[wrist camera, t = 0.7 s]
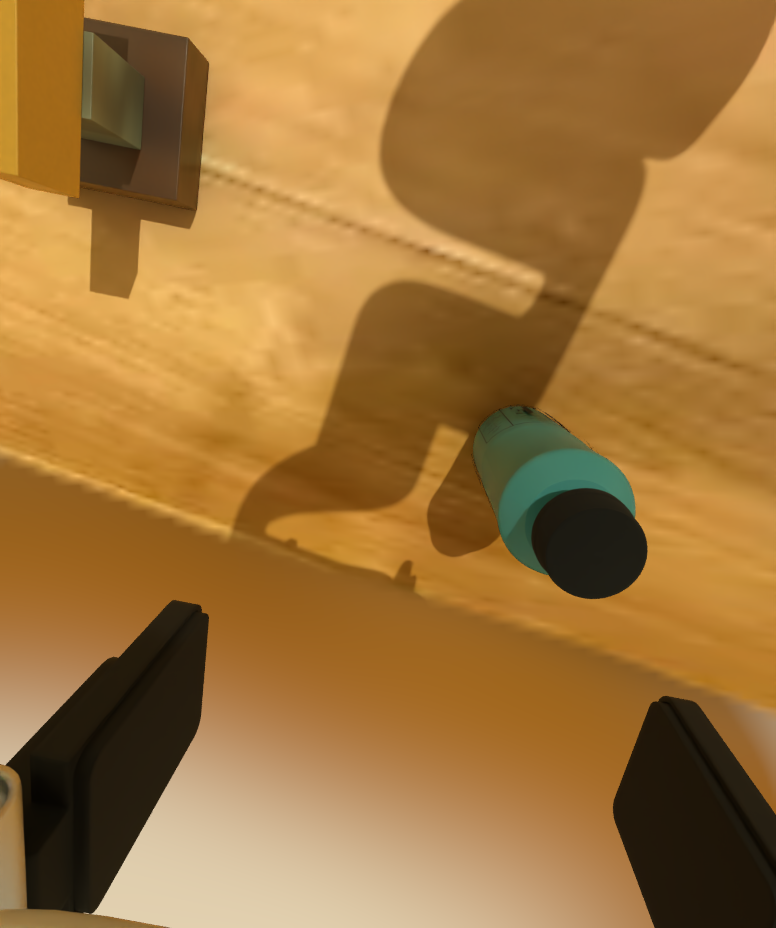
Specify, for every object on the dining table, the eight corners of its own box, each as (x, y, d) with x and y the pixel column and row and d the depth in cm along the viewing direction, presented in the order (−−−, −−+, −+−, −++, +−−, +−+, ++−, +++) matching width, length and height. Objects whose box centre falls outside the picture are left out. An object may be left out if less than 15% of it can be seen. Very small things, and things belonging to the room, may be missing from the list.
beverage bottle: (470, 486, 39) (510, 640, 20) (466, 401, 38) (507, 480, 19) (556, 481, 39) (682, 635, 20) (556, 394, 37) (696, 470, 18)
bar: (27, -76, 25) (-55, -159, 21) (86, -65, 25) (15, -146, 21) (28, 188, 29) (-44, 163, 24) (79, 198, 28) (17, 176, 24)
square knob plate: (75, 35, 33) (-30, -51, 26) (209, 62, 33) (143, -18, 26) (72, 185, 36) (-25, 148, 28) (196, 210, 36) (133, 179, 28)
